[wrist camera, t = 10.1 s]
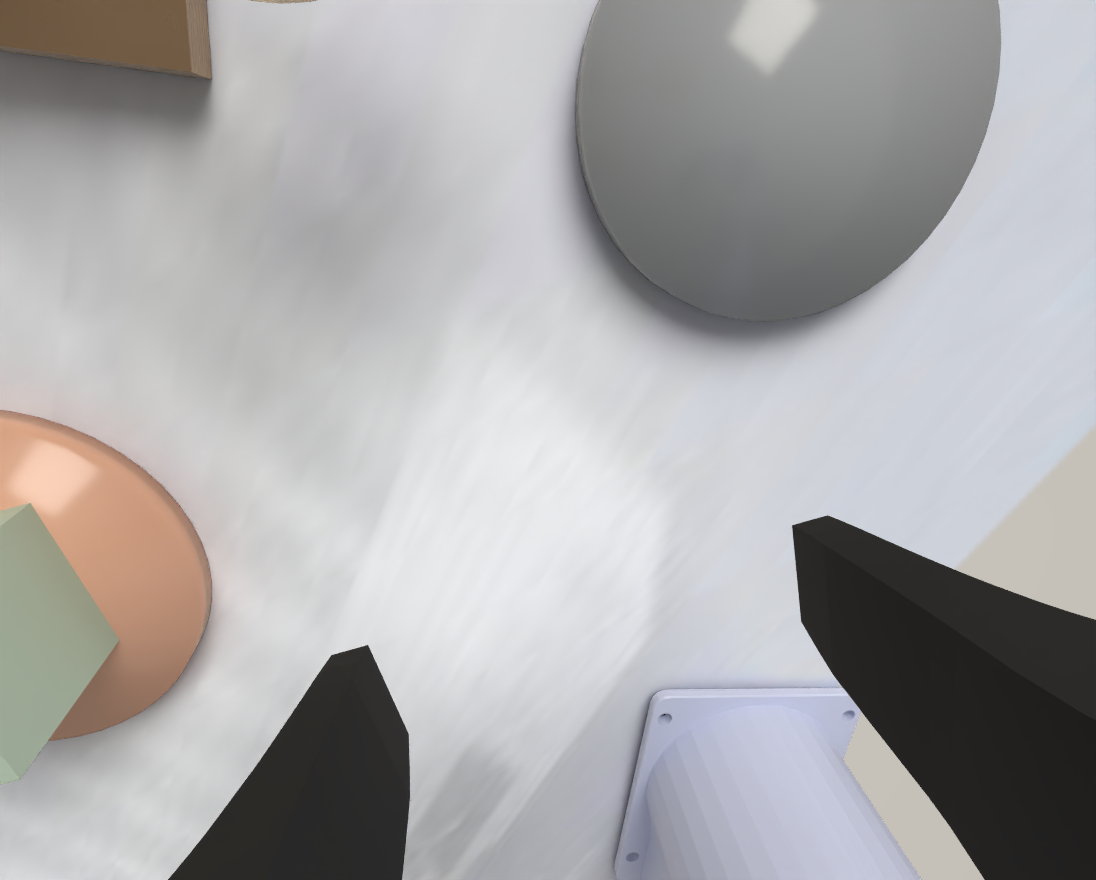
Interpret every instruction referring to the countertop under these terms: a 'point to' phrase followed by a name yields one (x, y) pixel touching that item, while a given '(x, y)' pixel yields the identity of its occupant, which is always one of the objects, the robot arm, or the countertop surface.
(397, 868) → the robot arm
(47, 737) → the block
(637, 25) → the glossy grey dome
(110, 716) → the peach glossy disc
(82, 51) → the balance
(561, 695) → the countertop surface
